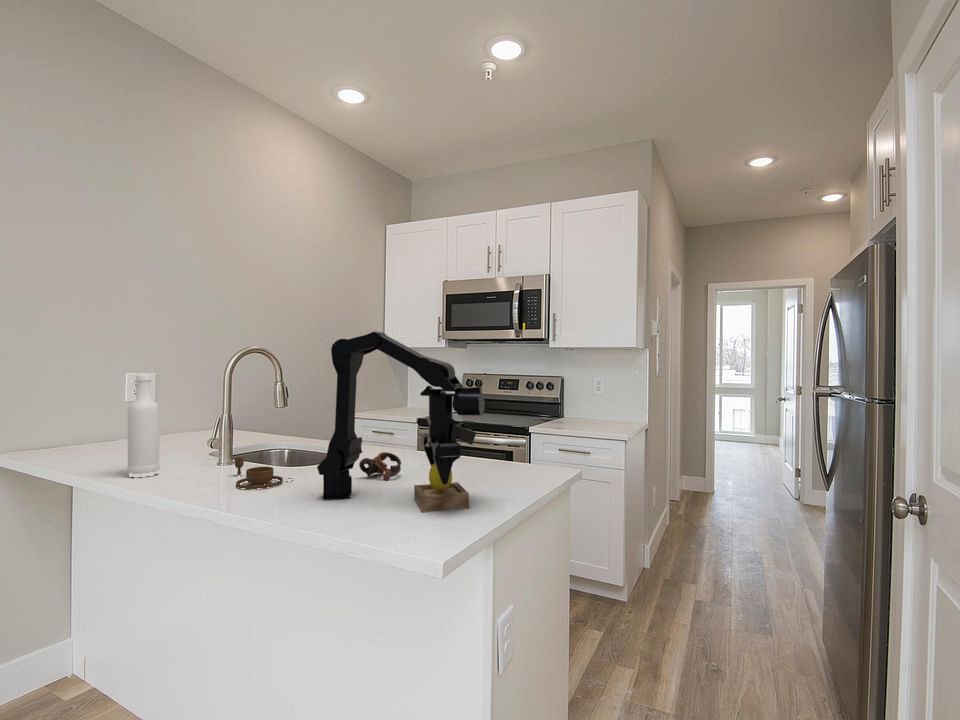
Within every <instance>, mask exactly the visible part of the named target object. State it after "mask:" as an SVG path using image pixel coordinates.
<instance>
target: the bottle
mask: <svg viewBox="0 0 960 720" xmlns="http://www.w3.org/2000/svg"><path fill="white" fill-rule="evenodd" d="M135 377H136V378H135V383H136V386H135V387H136V393H135V394H136V399H134V400H133V401H132V402H131V403H130V404H129V407H128V408H127V467H126V468H127V470H126V471H127V474H128V473H132V474H142V473H150V472H155V471H157V470H159V471H160V468H161V467H160V408H159V405H158V402H156V401H155V400H154V399H152V381H153V380H152V379H153V378H152V375H151V374H137V375H136V376H135Z"/></svg>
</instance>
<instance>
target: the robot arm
mask: <svg viewBox="0 0 960 720" xmlns="http://www.w3.org/2000/svg"><path fill="white" fill-rule="evenodd" d="M375 351H380V352H382V353H383V354H385V355H387V356H389V357H391V358H392V359H395V360H396V361H398V362H400V363H401V364H403V365H404V366H407V367H409V368H411V369H412V370H414V371H415V372H416V373H417V374H418V376H419V377H420V378H421V379H422V380H423V381H425V382H426V383H428V385H427V386H426V387H425V389H423V390H422V391H421V392H420V393H419V394H420V396H421V397H423V396H424V397H426V396H427V397H428V417H427V418H426V419H427V420H426V422H427V423H428V432H425V433H423V434H422V435H421V445H423V446H422V448H423V450H424V452H425V455H426V458H427V460H428V462H429V465H430V467H431V466H432V465H433V464H434V463H435V464H436V467H437V470H438V473H439V476H440V479H441V482H442V484H447V483H448V479H449V475H450V471H452V467H453V465H454V464H453V463H455V461H457V460H458V459H460V458H461V456H463V446H462V445H461V444H460V443H459V442H458V441H462V442H464V443H467V444H469V445H471V446H473V444H474V441H475V439H476V436H477V432H476V431H474V430H472V429H470V428H469V427H468V424H467V423H463V422H461V421H460V422H458V424H457V422H456V420H455V419H454V418H453V417H454V413H457V416H471V417H472V416H478V417H481V416H483V415H484V413H485V407H486V406H485V404H486V403H485V402H486V401H485V399H484V398H485V397H484V393H483V387H482V386H474V387H464V386H463V385H462V383H461V382H460V380H459V379H458V377H457V376H456V371H455V367H454V366H453V365H452V364H450V363H449V362H447V361H446V362H445V361H443V360H439V359H436V358H433V357H430V356H426V355H424V354H421V353H420V352H418V351H415V350H414V349H412V348H410V347H408V346H407V345H405V344H403V343H401V342H399V341H397V340H396V339H393V338H391V337H390V336H388V335H387V334H386V333H385V332H381V331H372V332H369V333H367V334H364V335H360V336H355V337H352V338H339V339H337V340H336V341H335V342H334V343H332V345H331V349H330V354H331V360H332V366H333V367H334V370H335V373H336V392H335V393H336V396H335V397H336V398H335V420H334V421H335V423H334V431H333V434H332V436H331V438H330V440H329V443H328V447H327V452H326V457H325V458H324V459H323V460H322V461H321V462H320V463H319V464H318V465H317V466H316V468H317V471H318V475H321V476H323V478H322V480H323V481H322V483H323V484H322V485H323V491H322V500H323V501H324V500H335V499H336V500H337V499H339V500H341V499H350V498H351V494H352V493H353V490H352V489H353V487H352V486H353V485H352V482H353V481H352V480H353V478H352V475H351V474H350V470H352V469H353V468H354V465H355V463H356V462H357V461H358V460H359V458H360V455H361V454H362V453H363V450H362V442H363V438H362V436H360V437H357V434H356V431H355V420H356V402H357V401H356V397H357V376H358V373H359V371H360V369H361V367H362V365H363V360H364V356H365V355H368V354H370V353H373V352H375ZM434 387H435V388H434ZM450 392H451V393H450ZM453 411H454V413H453ZM457 440H458V441H457Z"/></svg>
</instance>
